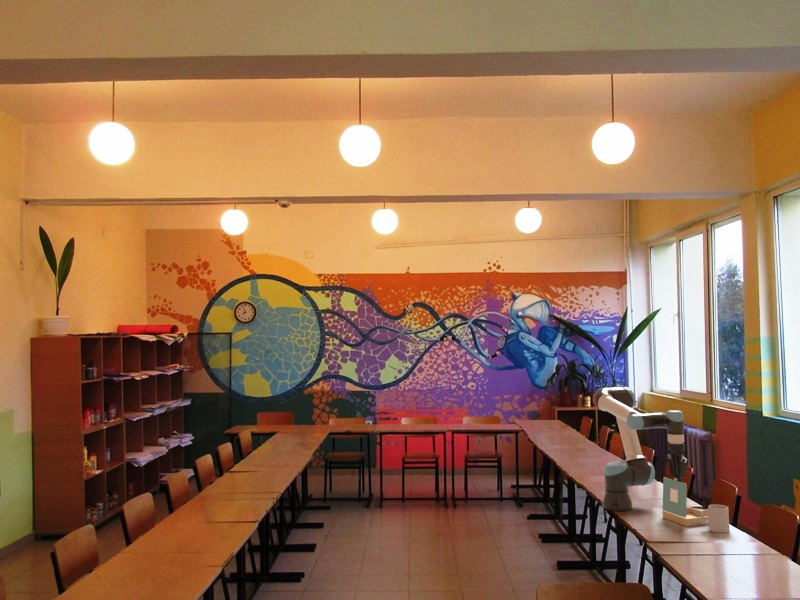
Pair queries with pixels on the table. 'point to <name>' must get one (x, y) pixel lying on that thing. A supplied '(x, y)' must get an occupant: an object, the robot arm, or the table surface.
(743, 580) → the table surface
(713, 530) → the mug
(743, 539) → the table surface
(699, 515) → the box
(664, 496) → the lid
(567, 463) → the table surface
